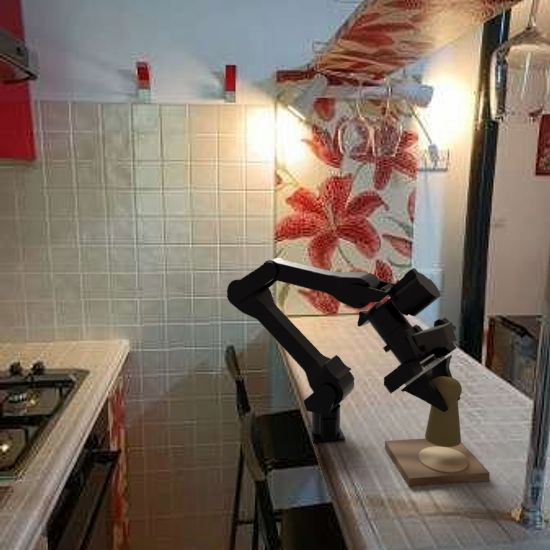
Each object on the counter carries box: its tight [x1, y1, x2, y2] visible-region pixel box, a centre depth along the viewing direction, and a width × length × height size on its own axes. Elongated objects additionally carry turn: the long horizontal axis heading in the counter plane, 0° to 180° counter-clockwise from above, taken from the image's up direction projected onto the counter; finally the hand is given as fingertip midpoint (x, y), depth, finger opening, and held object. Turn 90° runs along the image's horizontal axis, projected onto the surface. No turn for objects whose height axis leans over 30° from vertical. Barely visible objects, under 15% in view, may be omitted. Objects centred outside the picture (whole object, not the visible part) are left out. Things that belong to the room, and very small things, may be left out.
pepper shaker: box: [424, 376, 463, 447], centre depth 93 cm, size 6×6×11 cm
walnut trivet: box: [384, 437, 491, 488], centre depth 97 cm, size 13×14×2 cm
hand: (452, 405), depth 92 cm, fingers closed on pepper shaker, 5 cm apart
